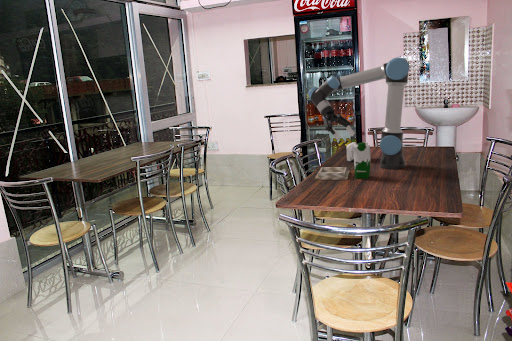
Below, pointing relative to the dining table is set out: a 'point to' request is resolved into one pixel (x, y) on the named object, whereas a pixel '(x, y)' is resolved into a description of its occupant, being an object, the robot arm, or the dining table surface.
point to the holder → (332, 173)
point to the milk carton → (362, 161)
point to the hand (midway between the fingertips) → (346, 136)
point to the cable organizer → (351, 151)
